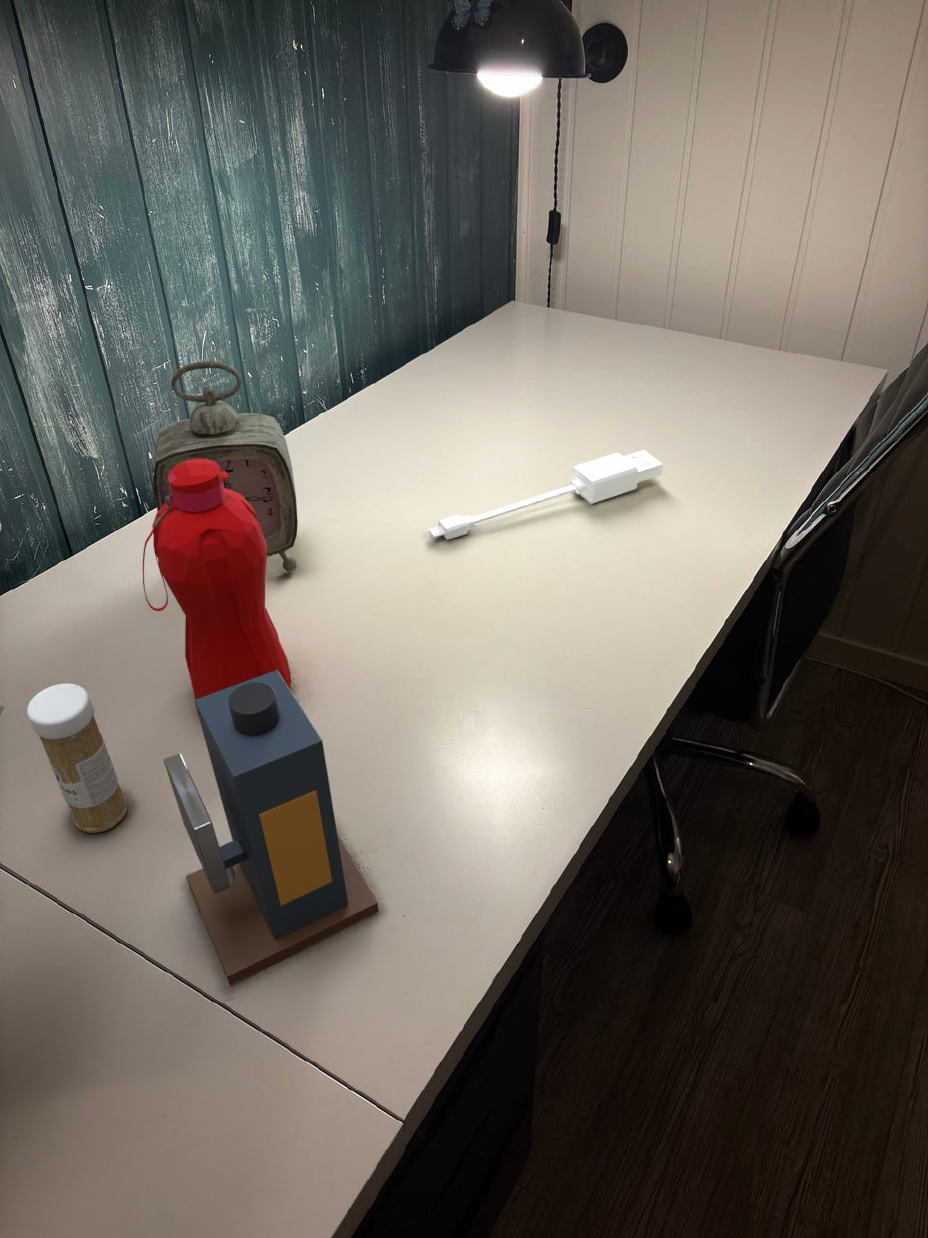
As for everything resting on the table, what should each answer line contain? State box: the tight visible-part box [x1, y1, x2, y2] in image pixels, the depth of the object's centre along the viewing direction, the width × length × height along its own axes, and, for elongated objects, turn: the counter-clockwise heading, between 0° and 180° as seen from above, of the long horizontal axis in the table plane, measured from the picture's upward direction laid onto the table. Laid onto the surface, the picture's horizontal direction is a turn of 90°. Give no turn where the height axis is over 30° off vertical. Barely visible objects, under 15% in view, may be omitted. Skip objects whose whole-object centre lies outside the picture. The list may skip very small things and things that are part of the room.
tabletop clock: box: [152, 360, 299, 573], centre depth 100 cm, size 14×9×25 cm, turn 102°
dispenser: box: [185, 670, 380, 986], centre depth 65 cm, size 12×10×21 cm
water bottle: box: [142, 459, 293, 701], centre depth 83 cm, size 9×11×25 cm
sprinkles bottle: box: [26, 683, 128, 834], centre depth 75 cm, size 5×5×13 cm
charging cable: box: [427, 449, 664, 541], centre depth 116 cm, size 5×32×3 cm, turn 117°
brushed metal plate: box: [163, 753, 231, 894], centre depth 63 cm, size 1×7×7 cm, turn 30°
